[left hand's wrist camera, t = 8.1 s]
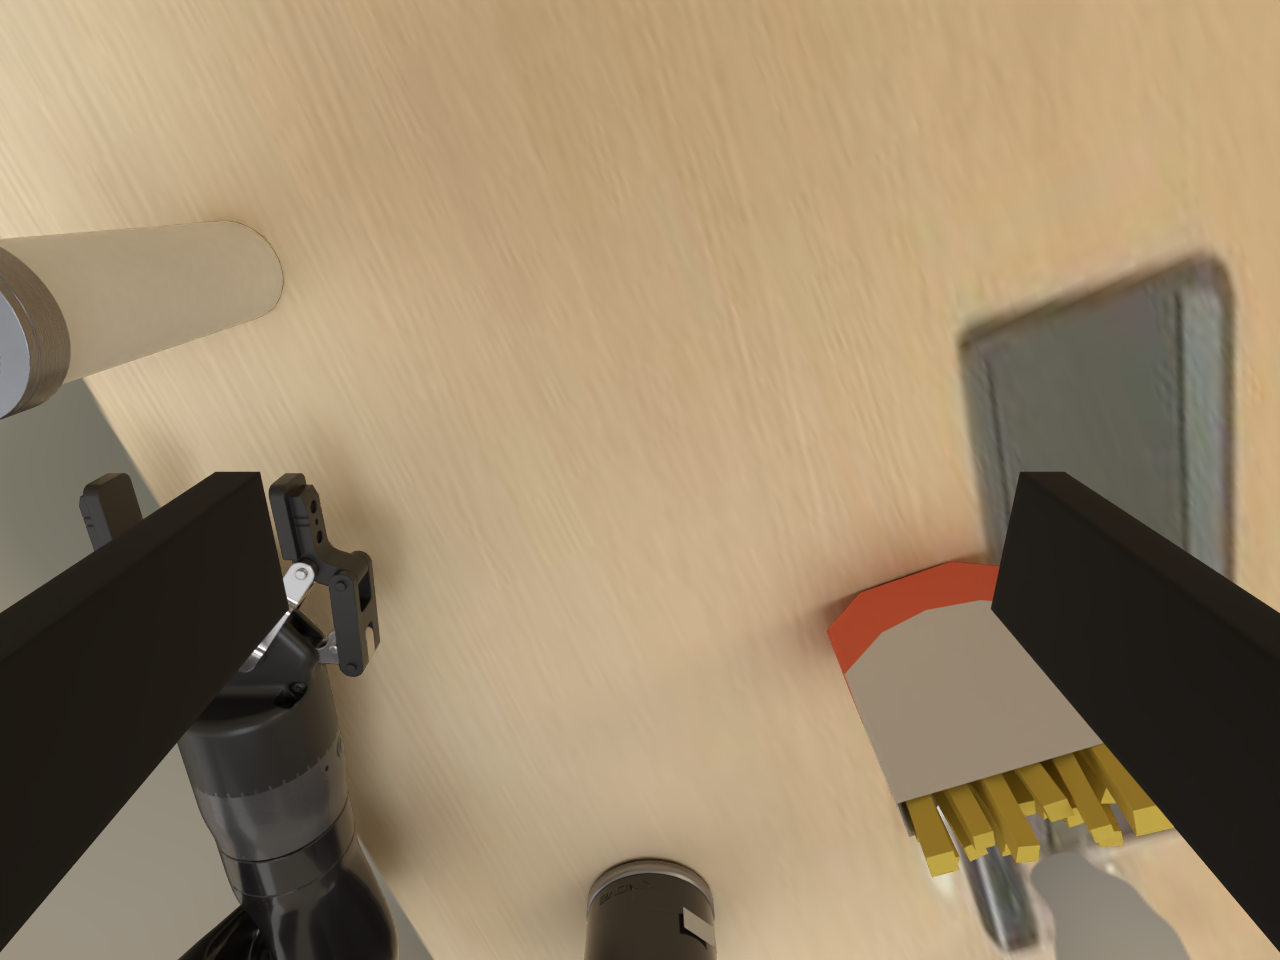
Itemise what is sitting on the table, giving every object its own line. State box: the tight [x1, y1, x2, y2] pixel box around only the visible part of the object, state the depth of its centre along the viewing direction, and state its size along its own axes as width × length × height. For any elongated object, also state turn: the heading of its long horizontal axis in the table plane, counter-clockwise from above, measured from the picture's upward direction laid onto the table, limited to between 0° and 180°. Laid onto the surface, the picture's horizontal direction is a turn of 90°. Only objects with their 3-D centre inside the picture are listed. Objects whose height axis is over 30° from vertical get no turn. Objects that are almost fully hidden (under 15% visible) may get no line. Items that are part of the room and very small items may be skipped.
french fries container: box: [827, 562, 1175, 877], centre depth 35 cm, size 5×11×18 cm, turn 113°
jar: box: [0, 221, 283, 384], centre depth 29 cm, size 5×5×16 cm
